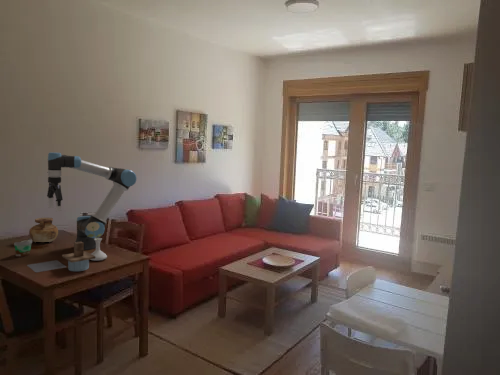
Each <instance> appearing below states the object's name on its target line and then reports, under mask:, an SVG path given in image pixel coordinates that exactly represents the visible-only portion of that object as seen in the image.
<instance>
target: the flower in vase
mask: <svg viewBox="0 0 500 375" xmlns="http://www.w3.org/2000/svg"><path fill="white" fill-rule="evenodd" d="M86 228H87V230H89V231H93V233H94V231H96V230H98V229H99V224H98V223H96V222H93V223H92V222H91V223H89V224H88V225H87V226H86ZM93 236H95V235H93V234H89V235H88V236H87V237H93ZM99 236H100V237H99ZM102 236H103V235H102V233H101V234H99V235H97V237H98V238H97V237H96V236H95V237H96V238H95V239H94V240H95V242H96V248H95V250H94V251H93V252H91V254H92V255H94V256H95V259H89V261H90V260H91V261H95V262H97V261H104V260H106V259H107V258H108V255H107V254H106V253H105V252H104V251H102V250H101V241H102V240H103V238H101V237H102Z"/></svg>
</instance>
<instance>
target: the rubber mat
mask: <svg viewBox="0 0 500 375" xmlns="http://www.w3.org/2000/svg"><path fill="white" fill-rule="evenodd" d="M26 266H27V267H28V268H29V269H31V270H32V271H33V272H35V273H40V272H41V273H42V272H46V271H51V270H52V271H53V270H57V269H58V270H59V269H63V268H67V266H66V265H65V264H63V262H60V261H59V260H58V259H56V260H49V261H43V262H38V263H31V264H27V265H26Z"/></svg>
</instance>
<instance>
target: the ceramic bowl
mask: <svg viewBox="0 0 500 375" xmlns="http://www.w3.org/2000/svg"><path fill="white" fill-rule="evenodd" d="M67 264H68V265H67V266H68V267H67V269H68V271H70V272H82V271H86V270H88V269H89V268H90V259H89V260H83V261H78V262H72V263H71V262H70V261H68V260H67Z"/></svg>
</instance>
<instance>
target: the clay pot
mask: <svg viewBox="0 0 500 375" xmlns="http://www.w3.org/2000/svg"><path fill="white" fill-rule="evenodd" d="M53 222H54V219H53V218H52V217H37V218H35V219H34V223H35V225H33V226H31V227H30V229H29V232H28V234H29V238H30V239H31V240H32V242H34V243H36V242H49V243H51V242H53V241H54V240H56V238H57V237H58V235H59V229H58V226H56V225H54V224H53Z"/></svg>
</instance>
